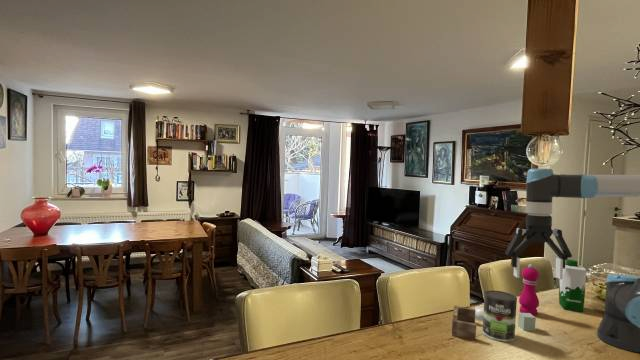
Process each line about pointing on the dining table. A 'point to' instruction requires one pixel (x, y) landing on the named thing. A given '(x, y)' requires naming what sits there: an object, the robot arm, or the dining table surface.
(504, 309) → the coffee can
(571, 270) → the milk carton
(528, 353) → the dining table surface
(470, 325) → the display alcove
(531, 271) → the pepper mill
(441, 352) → the dining table surface
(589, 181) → the robot arm
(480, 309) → the white glossy round part
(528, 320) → the sage block
